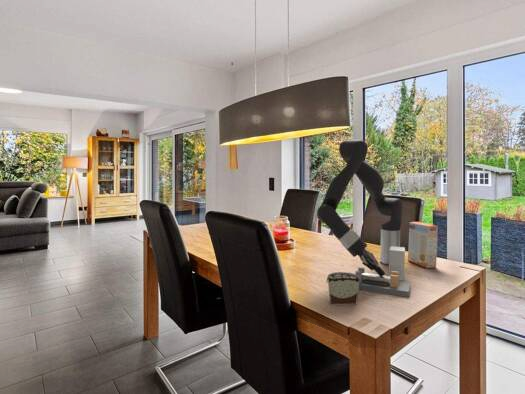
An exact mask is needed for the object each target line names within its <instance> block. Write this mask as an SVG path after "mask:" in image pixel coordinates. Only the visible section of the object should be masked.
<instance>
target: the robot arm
mask: <svg viewBox="0 0 525 394" xmlns="http://www.w3.org/2000/svg"><path fill="white" fill-rule="evenodd" d="M368 146H369V145H368V144H367V142H366V141H364V140H362V139H346V140H343V141H342V142H341V143H340V144H339V147H338V151H339V155H340V157H341V159H343V161H344V162H345V163H346V165H345V166H344V167H343V169H341V170H340V172H339V173H338V174H336V175H335V176H334V178H333V179H332V180H331V181H330V183H329V186H328V187H327V189H326V192H325V194H324V199H323V200H322V203H321V205H320V206H318V209H317V211H316V217H317V220H318V221H319V222H321V223H322V224H325V225H326V226H327V227H328V228H329V230H330V232H331V233H332V234H333V236H334V237H335V238H336V239H337V240H338V241H339V242H340V244H341V245H342V246H343V247H344V248H345V250H346V251H348V253H349V254H350V255H351V256H352V257H353V258H354V257H357V256H358V257H359V258H360V259H359V260H360V261H361V262H362V265H363V266H365V268H368V269H369V270H371V271H374V272H376V274H378V275H379V276H380V277H382V276H384V275H385V276H386V272H385V270H384V269H382V267H381V266H380V264H379V262H380V263H381V262H382V263H381V264H385V265H389V249H390V246H394V247H401V226H402V219H403V208H404V207H403V206H404V205H403V202H402V200H401V198H394V197H386V196H385V195H384V193H383V190H384V185H385V182H384V179H383V177H382V175H381V174H380V172H379V171H378V169H376V168H375V167H373V166H372V165H371V164H370V163H368V162H366V161H365V159H366V157H367V155H368V150H369V149H368V148H369V147H368ZM354 175H355V176H356V177H357V178H358V180H359V181H360V183H361V185H362V186H363V187H364V189H365V190H366V192H368V195H369V196H370V198H371V199H372V201H373V203H374V205H375V207H376V209H377V210H378V213H379V214H380V215H381V216H385V217H390V219H389V220H388V221H386V222H382V223H381V224H380V249H379V250H380V254H379V262H378V260H377V259H376V257H375V256H374V254H373V252H370V251H368V250H367V249H366V248H367V247H368V244H367V243H366V242H365V241H364V239H362V237H360V235H359V234H357V232H356V231H354V230H353V229H352V228H351V227H350V226H349V224H347V223H346V222H345V221H344V220H343V219H342V217H341V216H340V215H339V213H338V212H337V208H338V206H339V204H340V203H341V200H342V198H343V196H344V194H345V192H346V190H347V187H348V185H349V184H350V181H351V180H352V178H353V177H354Z"/></svg>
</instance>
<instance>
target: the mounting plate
mask: <svg viewBox="0 0 525 394" xmlns="http://www.w3.org/2000/svg"><path fill="white" fill-rule="evenodd" d="M362 272H363V273H365V267H361V266H359V267H357V270H355V274H356V275H358V276H360V278H361V282H359V290H360V291H366V292H367V291H368V292H373V293H380V294H386V295H387V294H388V295H393V296H394V295H395V296H400V297H407V298H409V297H410V291H411V281H406V280H404V281H402V280H399V272H397V271H392V272H391V275H390V283H387V282H380V281H374V280H367V279H362ZM359 290H358V291H359Z"/></svg>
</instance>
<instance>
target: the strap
mask: <svg viewBox="0 0 525 394" xmlns="http://www.w3.org/2000/svg"><path fill="white" fill-rule="evenodd" d="M362 279H367V280H374V281H380V282H387V283H390V276H389V275H386V274H385V275H384V276H382V277H380V276H379V275H378V273H369V272H364V273H363V272H362Z"/></svg>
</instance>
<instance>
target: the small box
mask: <svg viewBox="0 0 525 394" xmlns="http://www.w3.org/2000/svg"><path fill="white" fill-rule="evenodd" d="M405 260H406V247H404V246H400V247H394V246H390V249H389V264H388V276H390V275H391V272H392V271H397V272H399V281H405V268H406V267H405V263H406V261H405Z"/></svg>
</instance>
